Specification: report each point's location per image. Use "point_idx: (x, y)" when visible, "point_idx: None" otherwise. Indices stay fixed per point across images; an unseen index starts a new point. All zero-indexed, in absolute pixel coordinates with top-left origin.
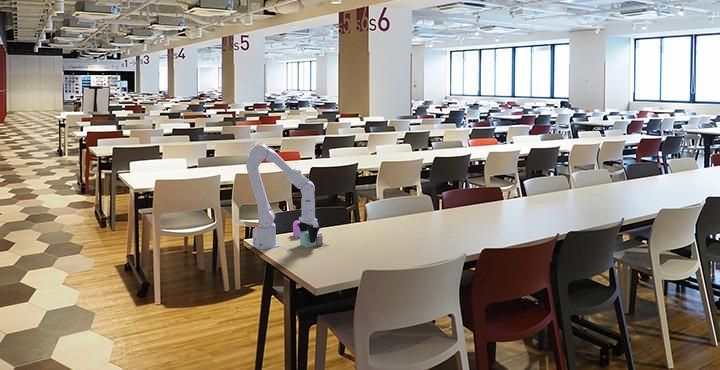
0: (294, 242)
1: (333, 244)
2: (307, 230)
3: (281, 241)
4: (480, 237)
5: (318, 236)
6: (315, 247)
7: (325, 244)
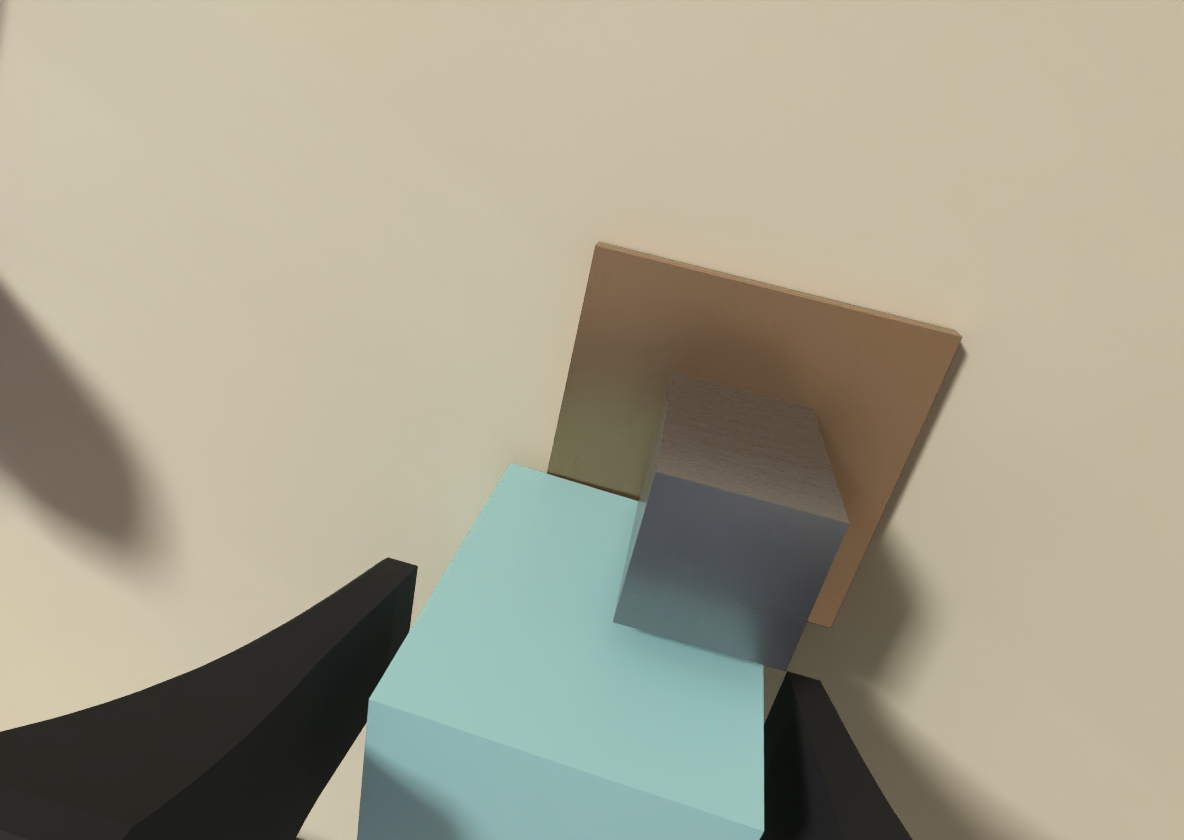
0: (220, 561)
1: (936, 102)
2: (376, 767)
3: (60, 637)
4: None
5: (799, 635)
6: (832, 622)
7: (837, 333)
